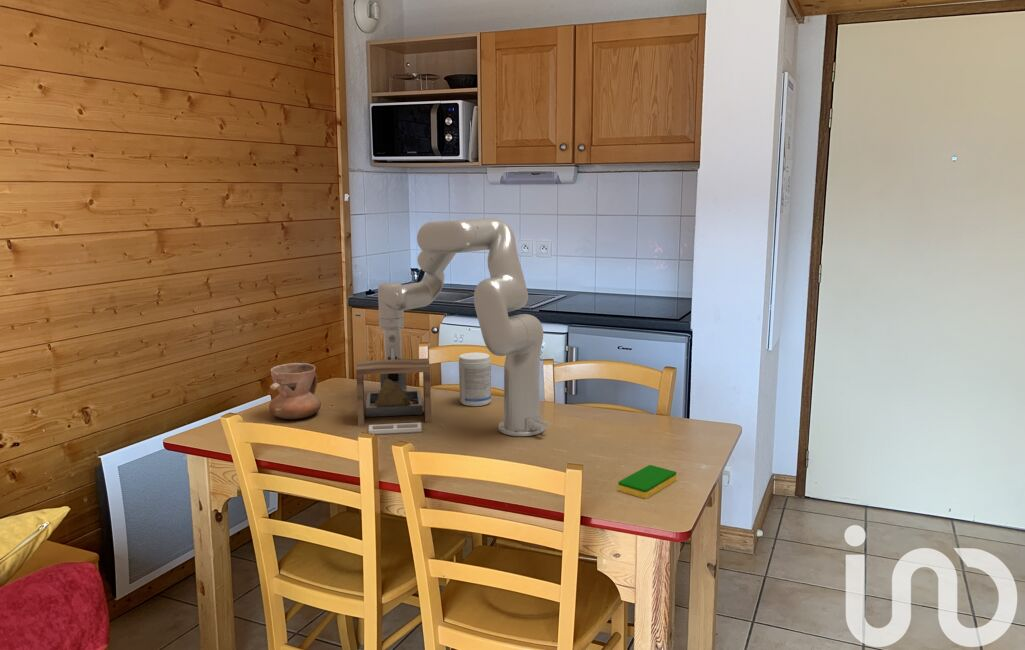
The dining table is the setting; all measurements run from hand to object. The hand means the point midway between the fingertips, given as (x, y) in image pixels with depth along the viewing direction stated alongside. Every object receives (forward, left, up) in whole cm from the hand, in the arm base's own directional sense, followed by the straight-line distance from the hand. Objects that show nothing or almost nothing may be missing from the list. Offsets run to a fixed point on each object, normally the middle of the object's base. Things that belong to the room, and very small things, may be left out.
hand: (393, 380), depth 242 cm
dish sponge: (-97, +1, -6) cm, 98 cm away
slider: (-7, +5, -5) cm, 9 cm away
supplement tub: (-22, -14, -5) cm, 27 cm away
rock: (-14, +10, -5) cm, 19 cm away
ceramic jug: (+4, +31, -5) cm, 32 cm away
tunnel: (-18, +13, -5) cm, 23 cm away
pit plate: (-27, +19, -5) cm, 34 cm away
